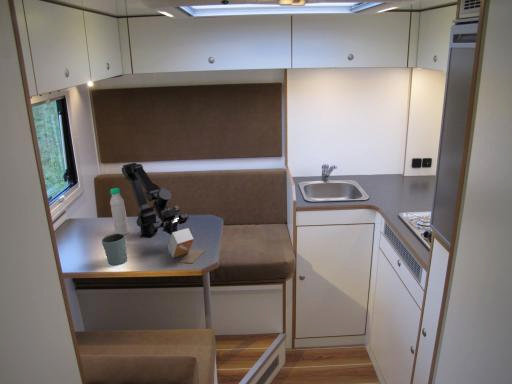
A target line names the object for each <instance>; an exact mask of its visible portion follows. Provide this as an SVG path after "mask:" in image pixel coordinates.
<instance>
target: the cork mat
mask: <svg viewBox="0 0 512 384" xmlns="http://www.w3.org/2000/svg"><path fill="white" fill-rule="evenodd" d="M203 253H205V250H202V249H190V250H189V252H188V253H187V254H184V255H183V257H182V258H180V260H179V261H178V263H181V264H182V263H183V264H190V265H191V264H194V263H195V262H196V261H197V260H198V259H199V257H200V256H201V255H203Z"/></svg>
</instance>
